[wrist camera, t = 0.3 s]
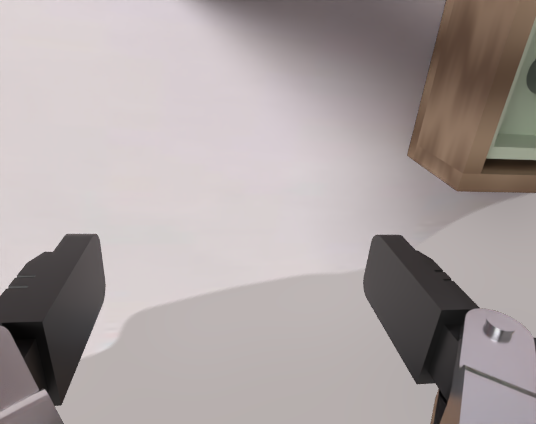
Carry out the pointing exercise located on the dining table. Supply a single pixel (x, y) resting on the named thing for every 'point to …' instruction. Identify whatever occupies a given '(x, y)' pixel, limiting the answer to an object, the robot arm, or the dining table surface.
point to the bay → (473, 96)
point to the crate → (519, 111)
